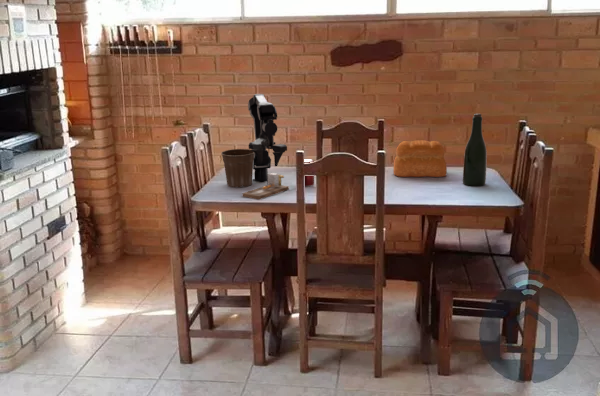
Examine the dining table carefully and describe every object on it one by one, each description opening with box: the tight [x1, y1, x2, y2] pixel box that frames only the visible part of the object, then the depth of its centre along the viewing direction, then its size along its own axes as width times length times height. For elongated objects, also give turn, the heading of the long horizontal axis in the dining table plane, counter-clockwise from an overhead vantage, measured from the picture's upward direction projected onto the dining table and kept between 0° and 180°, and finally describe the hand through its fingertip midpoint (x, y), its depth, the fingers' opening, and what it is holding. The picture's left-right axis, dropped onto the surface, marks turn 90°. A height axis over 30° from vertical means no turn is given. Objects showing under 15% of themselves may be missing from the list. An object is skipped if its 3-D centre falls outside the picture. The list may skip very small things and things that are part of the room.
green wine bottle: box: [462, 113, 488, 187], centre depth 286 cm, size 10×10×33 cm
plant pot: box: [220, 148, 254, 188], centre depth 297 cm, size 16×16×16 cm
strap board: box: [242, 184, 290, 200], centre depth 282 cm, size 21×10×2 cm, turn 143°
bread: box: [392, 139, 448, 178], centre depth 310 cm, size 16×26×17 cm, turn 84°
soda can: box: [304, 158, 315, 188], centre depth 294 cm, size 7×7×12 cm
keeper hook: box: [278, 174, 285, 186], centre depth 289 cm, size 2×4×5 cm, turn 53°
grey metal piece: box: [262, 172, 279, 189], centre depth 284 cm, size 8×4×6 cm, turn 143°
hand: (268, 165), depth 285 cm, fingers open, 9 cm apart
